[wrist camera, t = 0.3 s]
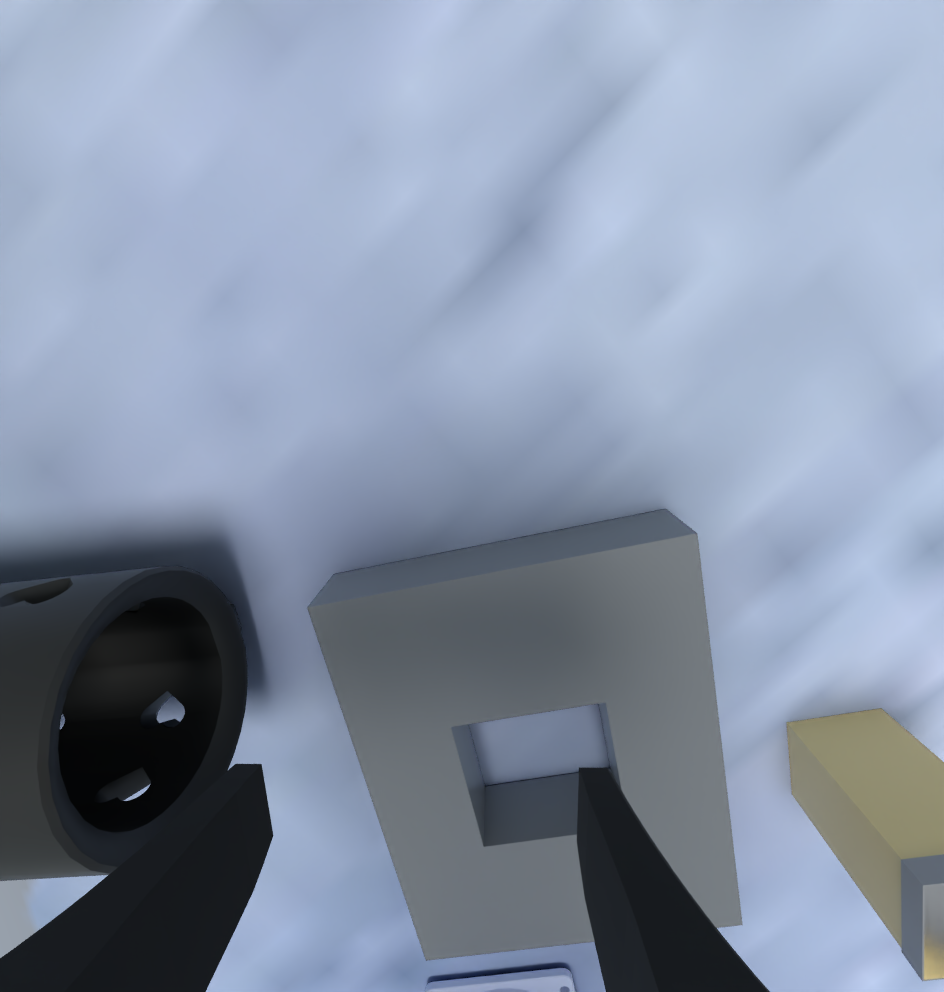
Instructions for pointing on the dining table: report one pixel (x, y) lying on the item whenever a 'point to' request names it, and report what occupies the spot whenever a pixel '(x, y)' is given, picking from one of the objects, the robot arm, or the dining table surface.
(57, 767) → the muzzle brake
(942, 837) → the plug
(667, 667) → the socket plate
